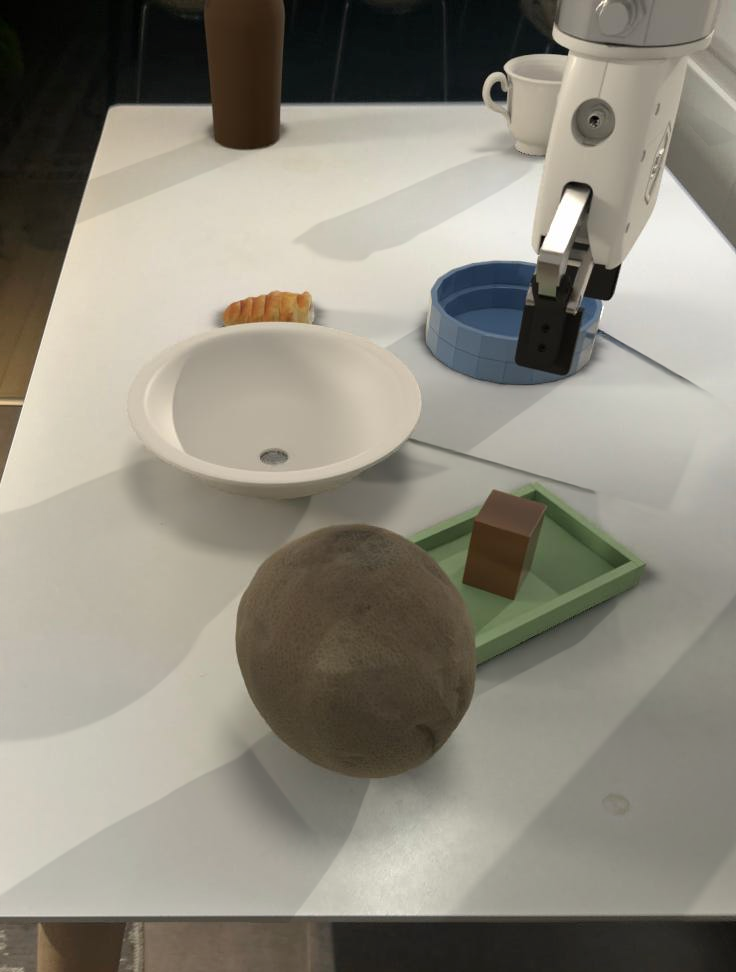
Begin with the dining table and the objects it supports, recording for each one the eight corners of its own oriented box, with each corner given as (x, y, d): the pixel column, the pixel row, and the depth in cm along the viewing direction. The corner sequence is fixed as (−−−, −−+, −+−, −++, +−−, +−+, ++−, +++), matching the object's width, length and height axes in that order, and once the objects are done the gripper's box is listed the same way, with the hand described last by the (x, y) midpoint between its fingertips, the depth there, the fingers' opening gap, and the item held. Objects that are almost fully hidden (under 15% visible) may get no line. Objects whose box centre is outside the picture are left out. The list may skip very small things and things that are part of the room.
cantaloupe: (448, 657, 66) (482, 482, 55) (466, 833, 56) (512, 662, 46) (246, 650, 67) (240, 476, 56) (229, 821, 57) (219, 651, 46)
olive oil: (250, 157, 131) (246, -66, 113) (194, 140, 136) (182, -76, 118) (299, 136, 136) (302, -80, 118) (244, 120, 141) (239, -90, 123)
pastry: (220, 345, 96) (218, 309, 93) (225, 313, 101) (224, 278, 98) (313, 346, 96) (314, 311, 93) (314, 314, 100) (315, 279, 98)
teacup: (460, 138, 135) (470, 58, 128) (559, 130, 137) (575, 50, 130) (489, 170, 127) (502, 86, 120) (595, 160, 129) (614, 77, 121)
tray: (531, 502, 78) (536, 481, 76) (639, 583, 71) (646, 562, 70) (356, 579, 72) (357, 558, 70) (454, 677, 65) (459, 656, 63)
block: (479, 551, 73) (493, 488, 69) (530, 568, 72) (547, 505, 67) (461, 583, 70) (473, 520, 66) (513, 600, 69) (529, 537, 65)
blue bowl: (513, 292, 103) (522, 247, 99) (625, 358, 93) (639, 310, 90) (392, 333, 97) (397, 286, 94) (499, 407, 88) (508, 358, 84)
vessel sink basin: (105, 538, 76) (93, 470, 71) (165, 378, 92) (159, 314, 87) (409, 563, 73) (419, 494, 68) (416, 393, 89) (424, 328, 85)
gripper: (680, 64, 39) (588, 417, 52) (750, -33, 50) (659, 281, 62) (504, 45, 42) (457, 385, 55) (605, -44, 52) (546, 260, 65)
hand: (565, 329), depth 58 cm, fingers open, 9 cm apart
